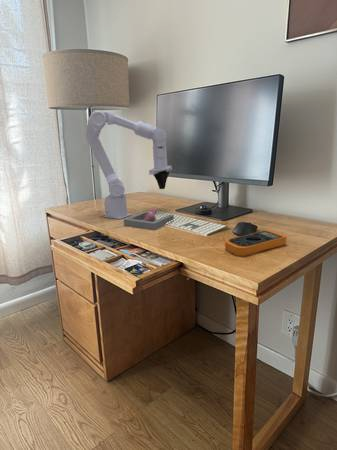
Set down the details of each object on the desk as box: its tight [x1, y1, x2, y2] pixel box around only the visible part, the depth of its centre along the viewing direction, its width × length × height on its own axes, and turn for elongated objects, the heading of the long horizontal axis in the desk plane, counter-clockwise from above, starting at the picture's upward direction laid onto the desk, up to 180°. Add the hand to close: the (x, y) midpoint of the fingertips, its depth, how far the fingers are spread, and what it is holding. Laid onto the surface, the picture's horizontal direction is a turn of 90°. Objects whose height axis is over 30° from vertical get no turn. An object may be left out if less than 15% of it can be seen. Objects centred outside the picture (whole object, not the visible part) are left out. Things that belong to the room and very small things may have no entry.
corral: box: [123, 211, 175, 231], centre depth 124 cm, size 15×13×2 cm
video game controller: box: [143, 207, 158, 222], centre depth 125 cm, size 10×5×7 cm, turn 177°
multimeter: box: [224, 229, 287, 257], centre depth 93 cm, size 9×18×3 cm, turn 116°
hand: (162, 188), depth 138 cm, fingers closed
